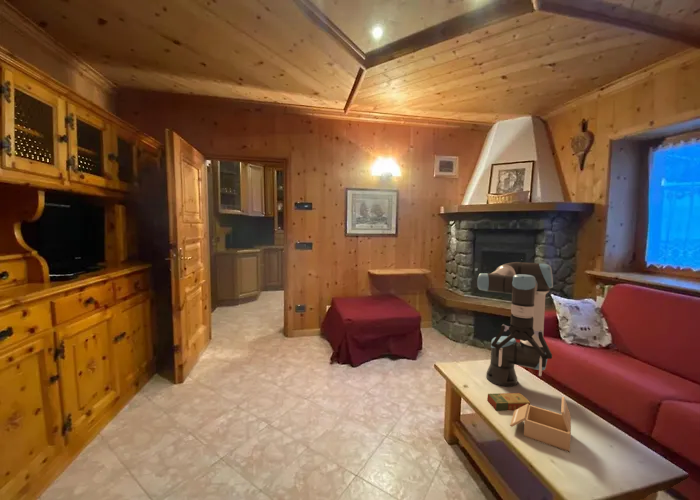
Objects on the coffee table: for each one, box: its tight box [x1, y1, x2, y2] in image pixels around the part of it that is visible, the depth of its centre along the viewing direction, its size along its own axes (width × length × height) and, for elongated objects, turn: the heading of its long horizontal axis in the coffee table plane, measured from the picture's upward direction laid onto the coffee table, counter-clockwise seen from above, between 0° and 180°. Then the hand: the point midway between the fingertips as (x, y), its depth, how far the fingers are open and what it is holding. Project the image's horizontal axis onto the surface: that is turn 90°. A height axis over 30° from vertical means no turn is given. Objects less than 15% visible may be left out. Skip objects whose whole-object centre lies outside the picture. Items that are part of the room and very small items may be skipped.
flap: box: [560, 396, 571, 432], centre depth 119 cm, size 13×1×7 cm, turn 145°
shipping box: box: [509, 404, 572, 453], centre depth 125 cm, size 13×20×8 cm, turn 55°
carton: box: [486, 392, 531, 412], centre depth 144 cm, size 8×16×4 cm, turn 92°
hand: (519, 369), depth 119 cm, fingers open, 13 cm apart
